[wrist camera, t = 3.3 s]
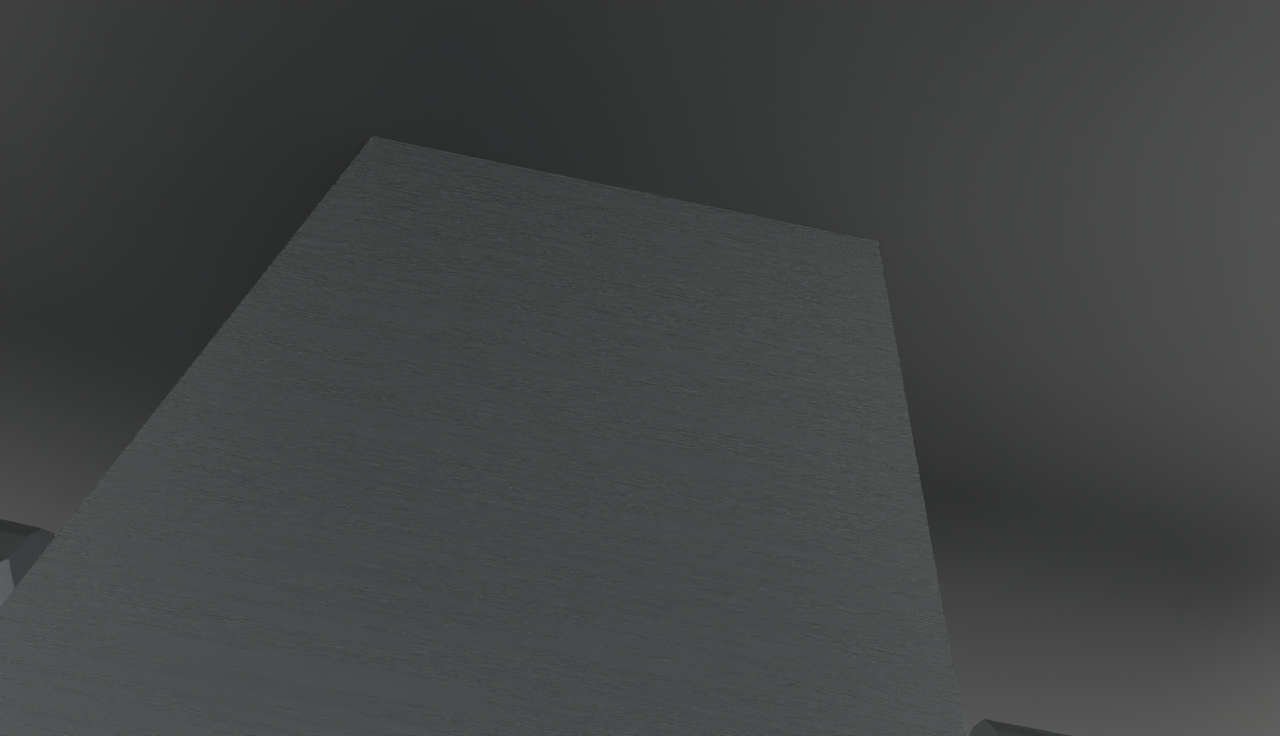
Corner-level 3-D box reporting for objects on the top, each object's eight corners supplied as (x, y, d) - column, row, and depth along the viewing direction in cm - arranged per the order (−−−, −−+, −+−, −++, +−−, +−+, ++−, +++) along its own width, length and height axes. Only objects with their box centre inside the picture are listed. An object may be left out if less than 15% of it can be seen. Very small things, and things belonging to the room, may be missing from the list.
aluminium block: (373, 135, 12) (-124, 765, 5) (878, 240, 12) (1011, 989, 5) (355, 491, 15) (12, 1199, 8) (767, 574, 15) (764, 1343, 8)
